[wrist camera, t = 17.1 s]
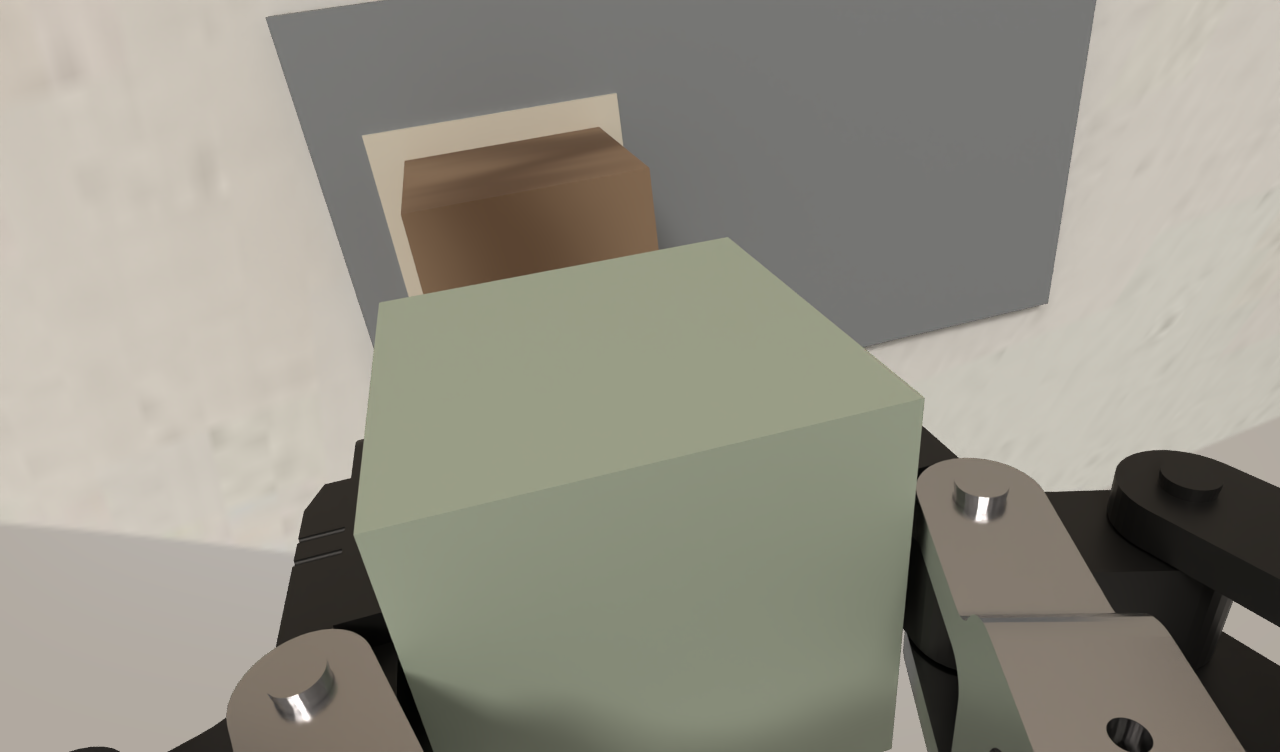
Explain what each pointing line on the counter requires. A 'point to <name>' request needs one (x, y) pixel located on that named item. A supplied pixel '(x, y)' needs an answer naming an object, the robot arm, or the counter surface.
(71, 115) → the counter surface
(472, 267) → the walnut block
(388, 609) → the sage block
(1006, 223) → the build mat
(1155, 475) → the robot arm
